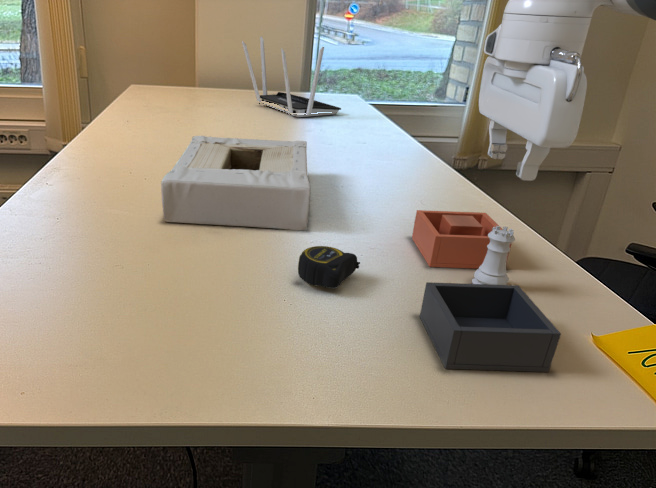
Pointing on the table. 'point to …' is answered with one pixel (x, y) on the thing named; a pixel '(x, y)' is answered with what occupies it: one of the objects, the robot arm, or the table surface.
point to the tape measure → (326, 266)
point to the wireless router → (286, 99)
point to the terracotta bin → (451, 240)
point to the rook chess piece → (495, 258)
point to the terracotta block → (460, 225)
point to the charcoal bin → (487, 327)
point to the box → (239, 184)
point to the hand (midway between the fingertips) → (509, 167)
